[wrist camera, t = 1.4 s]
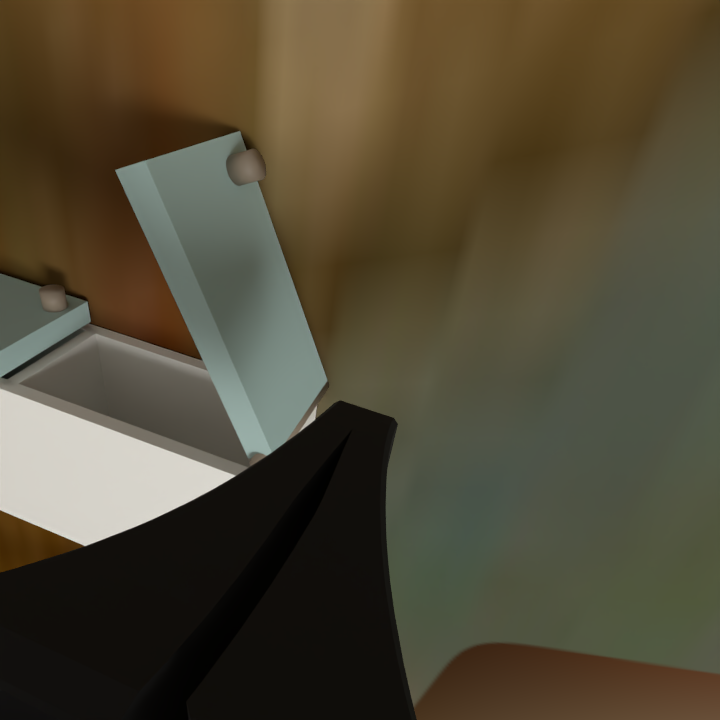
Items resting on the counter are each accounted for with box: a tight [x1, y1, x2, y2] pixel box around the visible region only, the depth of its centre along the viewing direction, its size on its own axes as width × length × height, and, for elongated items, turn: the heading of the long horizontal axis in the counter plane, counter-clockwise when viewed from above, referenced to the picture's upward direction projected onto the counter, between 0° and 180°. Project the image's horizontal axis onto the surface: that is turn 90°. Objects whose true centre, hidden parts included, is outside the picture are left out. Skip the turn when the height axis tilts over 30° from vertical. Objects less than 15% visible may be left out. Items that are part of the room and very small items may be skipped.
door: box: [115, 131, 329, 466], centre depth 17 cm, size 2×10×5 cm, turn 17°
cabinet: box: [0, 274, 317, 546], centre depth 23 cm, size 10×18×5 cm, turn 82°
